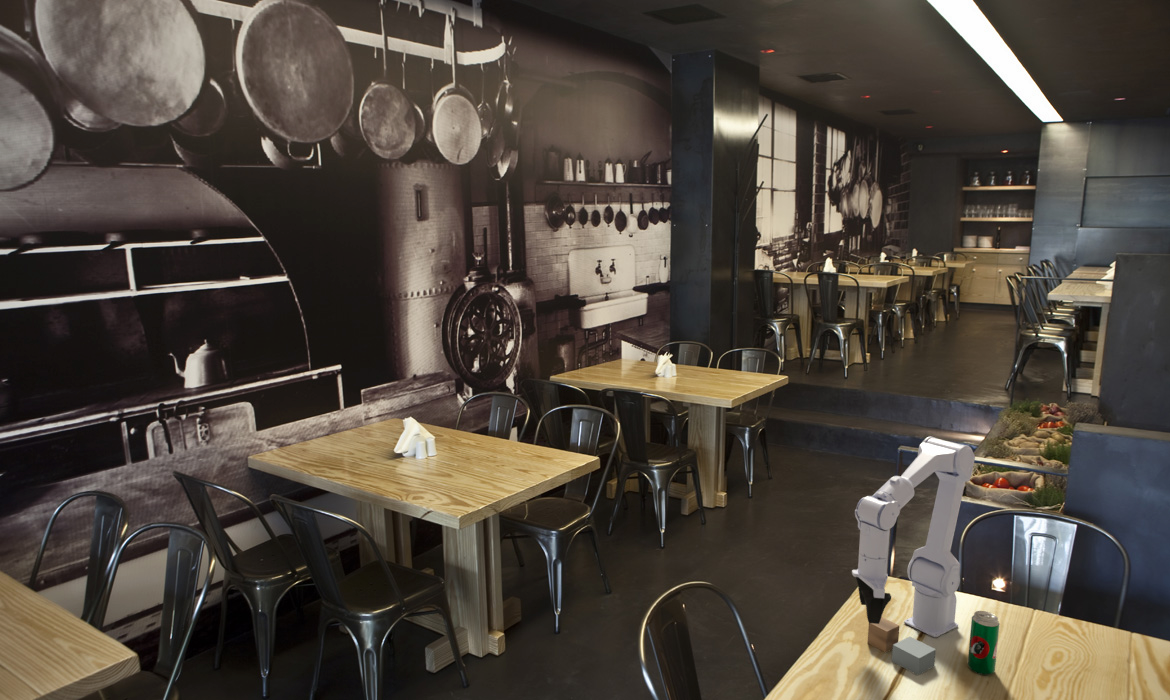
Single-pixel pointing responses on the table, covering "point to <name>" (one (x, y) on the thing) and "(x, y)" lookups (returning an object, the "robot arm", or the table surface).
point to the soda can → (983, 642)
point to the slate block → (913, 655)
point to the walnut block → (883, 635)
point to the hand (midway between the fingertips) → (869, 613)
